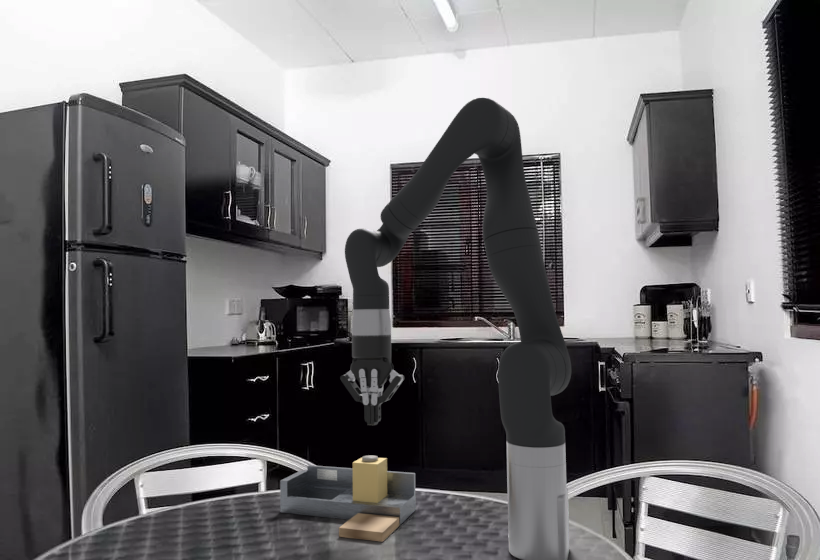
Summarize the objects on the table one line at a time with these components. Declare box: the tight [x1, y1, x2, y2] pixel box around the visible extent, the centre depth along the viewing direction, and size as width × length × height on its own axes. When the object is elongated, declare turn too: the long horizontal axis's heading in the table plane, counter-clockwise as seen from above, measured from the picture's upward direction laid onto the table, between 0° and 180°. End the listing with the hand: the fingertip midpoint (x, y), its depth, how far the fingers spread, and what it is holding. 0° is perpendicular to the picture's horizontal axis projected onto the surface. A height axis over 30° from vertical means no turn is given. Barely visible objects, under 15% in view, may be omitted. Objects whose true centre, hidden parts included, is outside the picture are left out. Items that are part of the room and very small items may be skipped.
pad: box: [338, 513, 400, 542], centre depth 106 cm, size 8×8×2 cm
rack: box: [279, 464, 417, 526], centre depth 117 cm, size 24×9×7 cm, turn 71°
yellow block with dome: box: [352, 454, 388, 503], centre depth 115 cm, size 5×5×8 cm
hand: (372, 424), depth 115 cm, fingers closed
